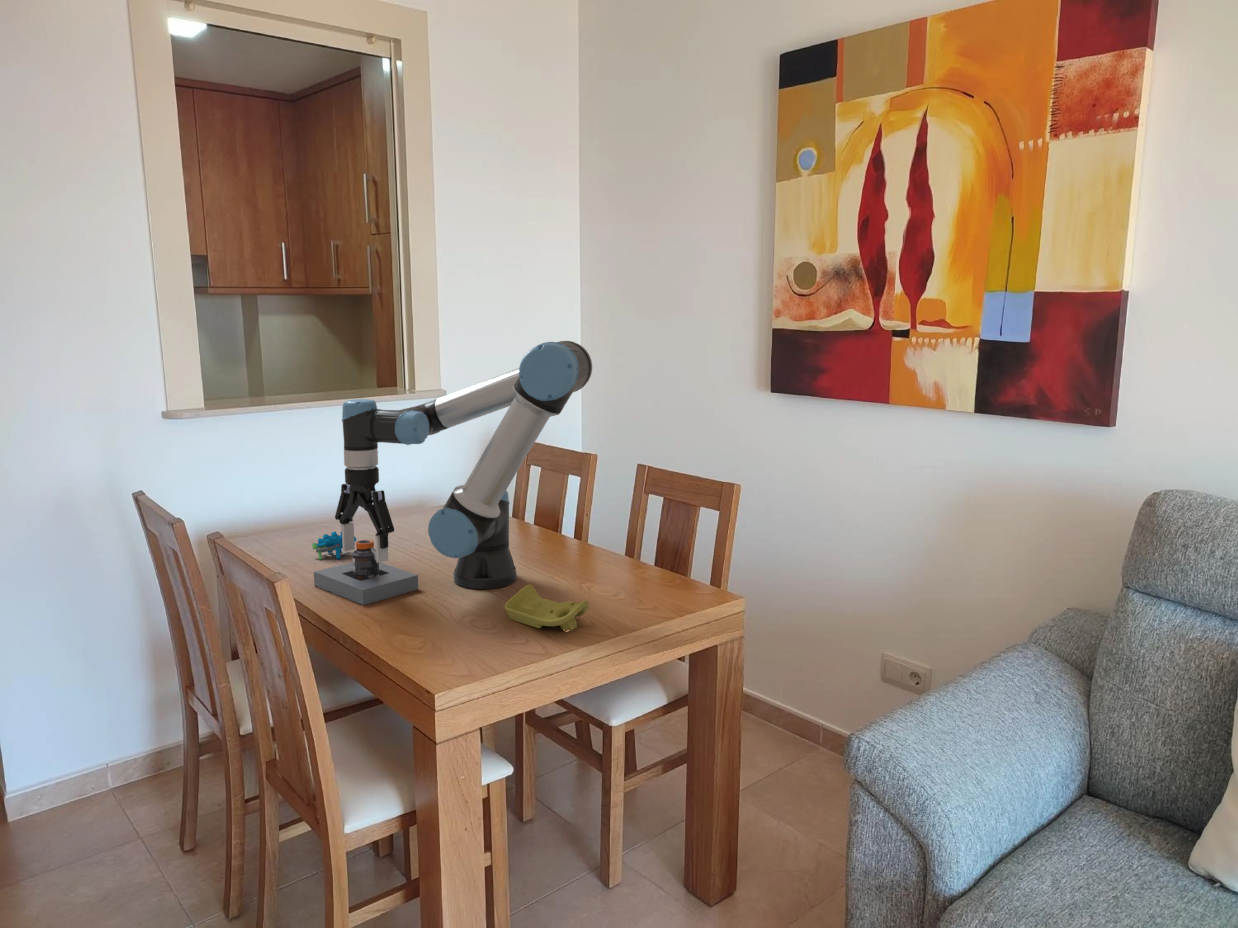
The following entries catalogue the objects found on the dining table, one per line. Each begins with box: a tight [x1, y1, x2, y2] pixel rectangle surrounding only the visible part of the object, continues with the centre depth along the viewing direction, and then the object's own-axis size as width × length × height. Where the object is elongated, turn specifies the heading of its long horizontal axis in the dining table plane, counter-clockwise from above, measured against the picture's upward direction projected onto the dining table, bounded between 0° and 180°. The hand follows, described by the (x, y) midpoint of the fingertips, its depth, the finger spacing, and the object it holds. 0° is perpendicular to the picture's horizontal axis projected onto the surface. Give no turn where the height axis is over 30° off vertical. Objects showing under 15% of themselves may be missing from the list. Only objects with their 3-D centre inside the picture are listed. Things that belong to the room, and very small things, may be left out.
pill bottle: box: [351, 539, 379, 581], centre depth 204 cm, size 6×6×11 cm
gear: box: [311, 530, 357, 561], centre depth 229 cm, size 11×6×10 cm
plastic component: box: [503, 584, 590, 632], centre depth 184 cm, size 20×7×10 cm
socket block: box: [313, 561, 419, 606], centre depth 205 cm, size 20×15×4 cm
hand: (365, 555), depth 204 cm, fingers open, 13 cm apart
